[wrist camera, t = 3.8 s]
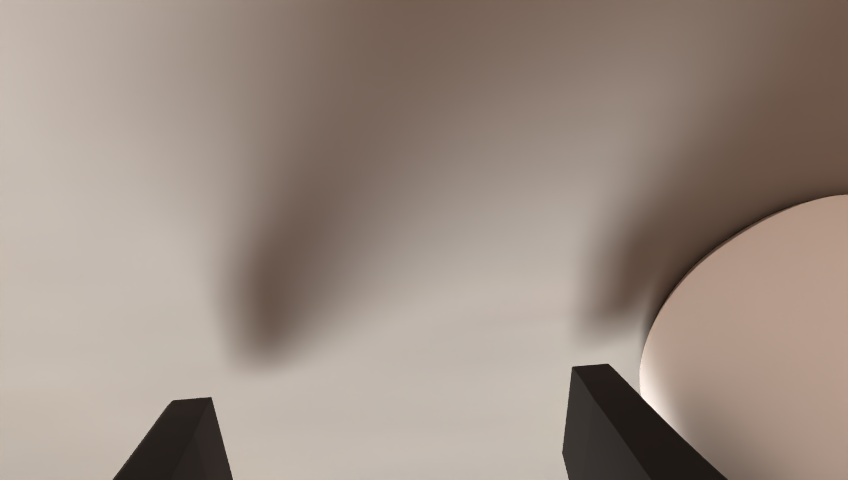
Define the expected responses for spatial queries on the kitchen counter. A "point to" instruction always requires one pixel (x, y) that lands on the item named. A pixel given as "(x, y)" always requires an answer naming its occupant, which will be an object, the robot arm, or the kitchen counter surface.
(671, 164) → the kitchen counter surface
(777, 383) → the can
